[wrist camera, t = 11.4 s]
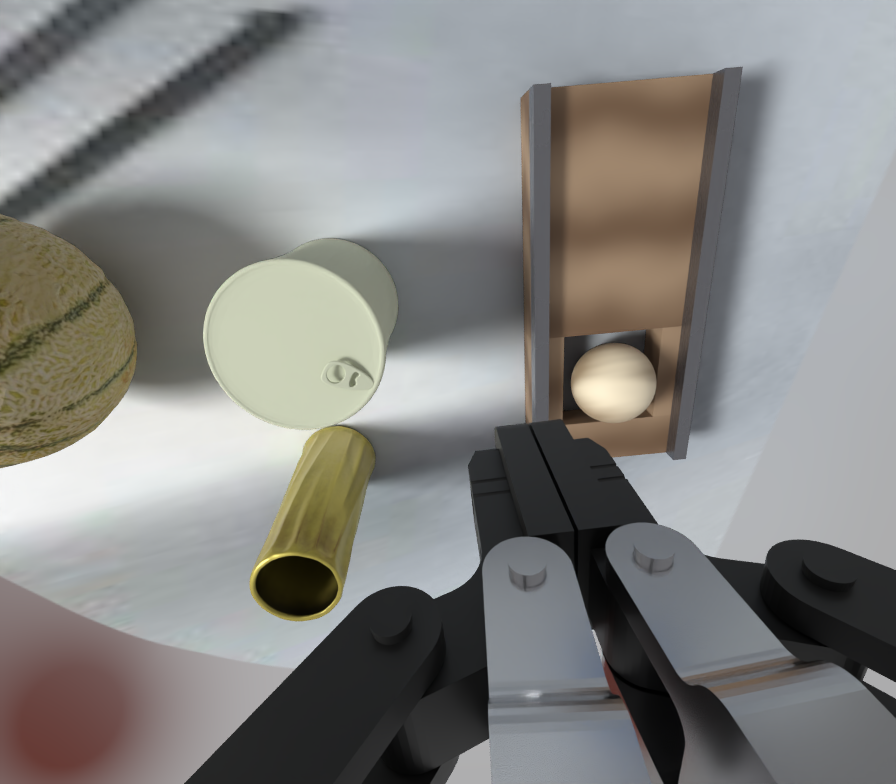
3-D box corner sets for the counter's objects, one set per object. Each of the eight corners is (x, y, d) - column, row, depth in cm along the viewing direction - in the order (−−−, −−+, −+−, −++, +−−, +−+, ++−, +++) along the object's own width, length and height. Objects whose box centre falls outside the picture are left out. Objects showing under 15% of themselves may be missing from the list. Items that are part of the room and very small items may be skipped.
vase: (383, 435, 38) (362, 559, 25) (365, 494, 40) (337, 636, 27) (311, 416, 37) (249, 535, 24) (296, 477, 39) (232, 616, 26)
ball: (566, 427, 37) (556, 353, 37) (639, 417, 37) (628, 344, 37) (593, 429, 31) (580, 341, 31) (679, 417, 31) (666, 331, 31)
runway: (520, 98, 29) (533, 84, 26) (705, 82, 29) (742, 66, 26) (526, 449, 39) (535, 473, 36) (663, 436, 39) (685, 458, 36)
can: (368, 380, 36) (344, 460, 25) (255, 330, 34) (174, 393, 23) (419, 275, 33) (416, 313, 22) (297, 213, 31) (228, 221, 20)
